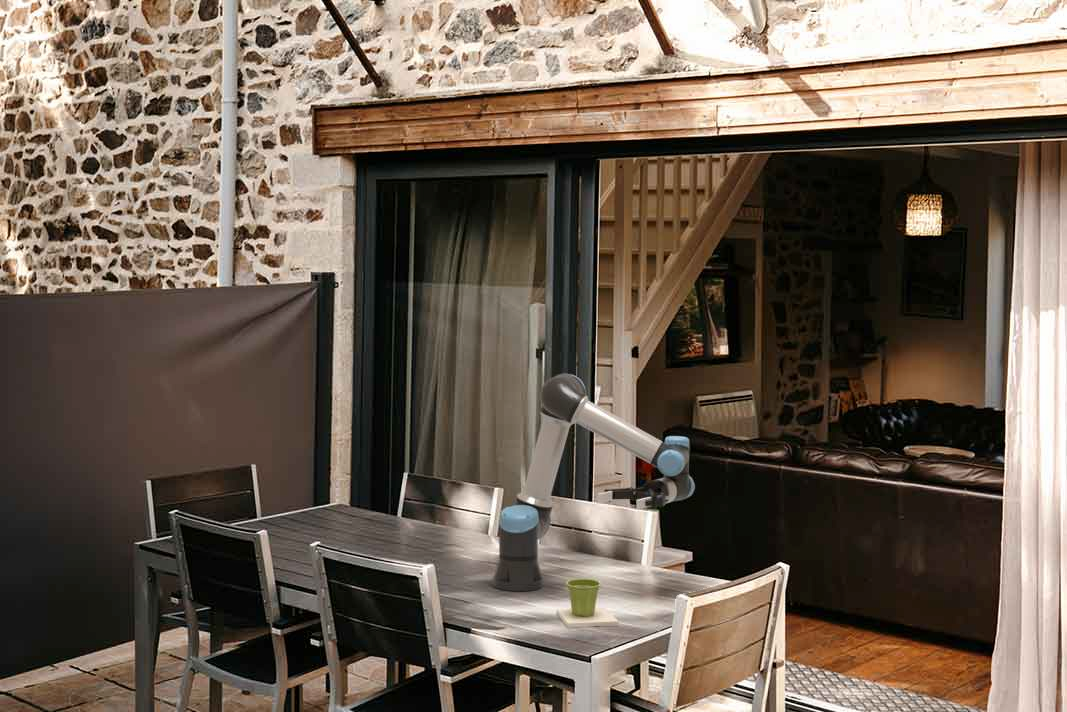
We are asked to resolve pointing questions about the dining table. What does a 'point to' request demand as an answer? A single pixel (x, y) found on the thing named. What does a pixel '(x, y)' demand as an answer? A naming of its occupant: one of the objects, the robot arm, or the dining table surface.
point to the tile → (587, 618)
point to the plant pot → (583, 596)
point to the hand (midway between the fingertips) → (617, 501)
